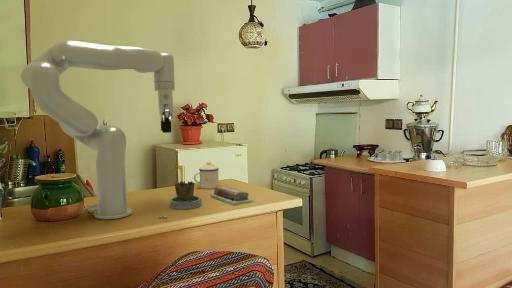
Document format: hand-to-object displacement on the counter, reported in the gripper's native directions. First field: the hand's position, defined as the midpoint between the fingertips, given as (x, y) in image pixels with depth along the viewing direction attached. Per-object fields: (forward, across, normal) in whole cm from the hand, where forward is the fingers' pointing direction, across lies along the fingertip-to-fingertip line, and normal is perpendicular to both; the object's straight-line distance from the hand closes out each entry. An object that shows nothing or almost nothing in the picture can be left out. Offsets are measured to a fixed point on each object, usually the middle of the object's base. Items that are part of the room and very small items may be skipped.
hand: (166, 131), depth 152 cm
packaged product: (+29, -2, -25) cm, 38 cm away
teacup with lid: (+28, +24, -19) cm, 41 cm away
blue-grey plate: (+28, -6, -6) cm, 29 cm away
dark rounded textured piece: (+28, -6, -6) cm, 29 cm away
